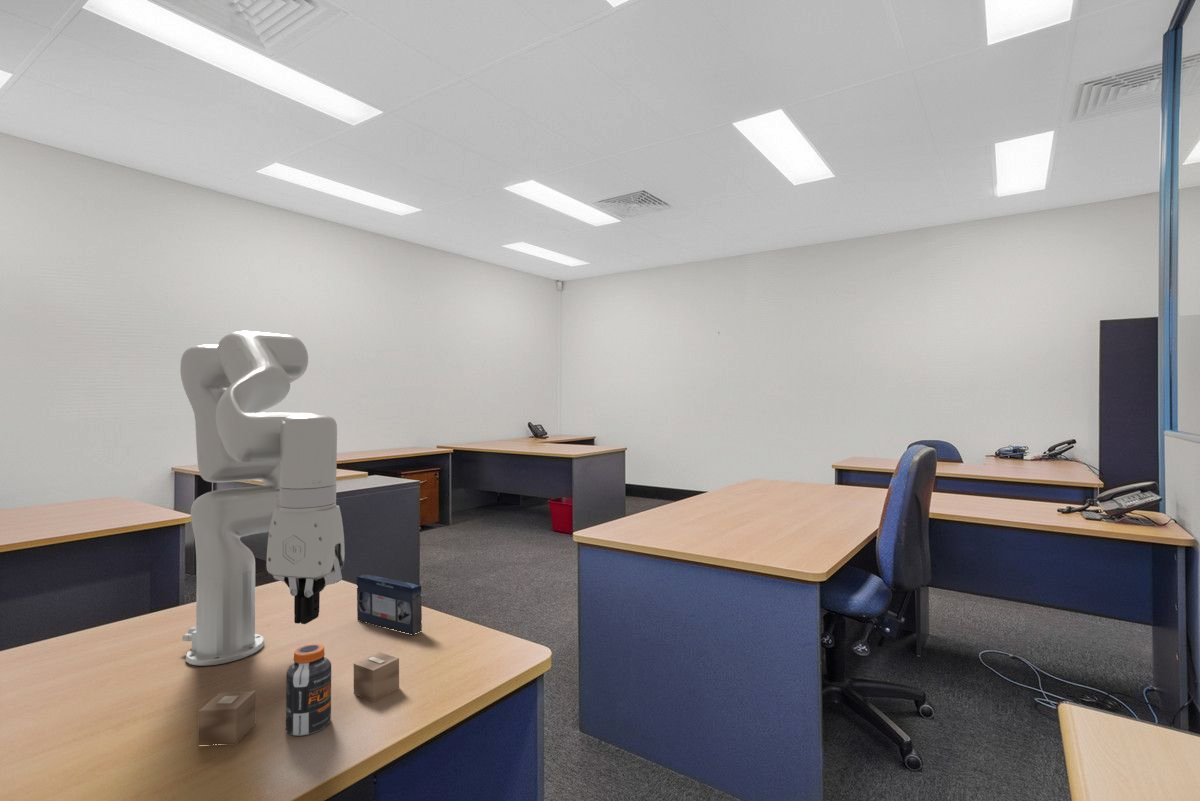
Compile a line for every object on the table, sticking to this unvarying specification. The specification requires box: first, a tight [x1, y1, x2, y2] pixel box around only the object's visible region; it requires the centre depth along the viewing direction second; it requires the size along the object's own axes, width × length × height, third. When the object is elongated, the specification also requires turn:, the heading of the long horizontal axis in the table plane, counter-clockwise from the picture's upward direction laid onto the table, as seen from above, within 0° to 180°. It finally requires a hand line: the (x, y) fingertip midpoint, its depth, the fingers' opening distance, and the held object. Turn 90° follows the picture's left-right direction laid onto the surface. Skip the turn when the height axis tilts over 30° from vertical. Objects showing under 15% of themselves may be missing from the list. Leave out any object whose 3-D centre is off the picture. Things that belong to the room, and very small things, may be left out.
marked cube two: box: [353, 651, 400, 702], centre depth 91 cm, size 5×5×5 cm
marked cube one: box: [197, 690, 257, 746], centre depth 79 cm, size 5×5×5 cm
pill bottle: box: [285, 643, 332, 737], centre depth 81 cm, size 6×6×11 cm
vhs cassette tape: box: [356, 573, 423, 636], centre depth 119 cm, size 18×3×10 cm, turn 58°
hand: (306, 620), depth 82 cm, fingers closed
